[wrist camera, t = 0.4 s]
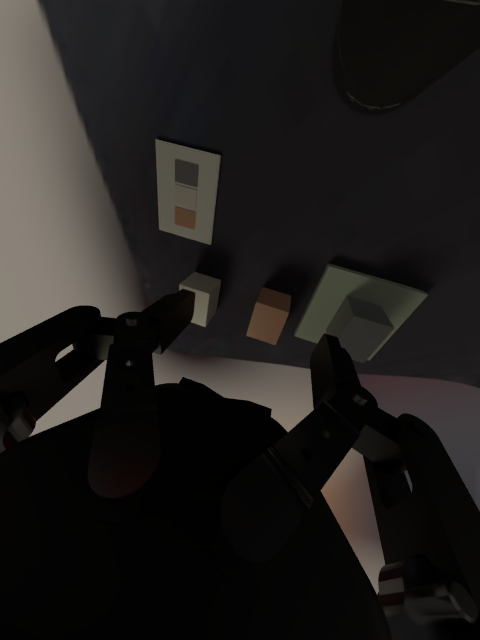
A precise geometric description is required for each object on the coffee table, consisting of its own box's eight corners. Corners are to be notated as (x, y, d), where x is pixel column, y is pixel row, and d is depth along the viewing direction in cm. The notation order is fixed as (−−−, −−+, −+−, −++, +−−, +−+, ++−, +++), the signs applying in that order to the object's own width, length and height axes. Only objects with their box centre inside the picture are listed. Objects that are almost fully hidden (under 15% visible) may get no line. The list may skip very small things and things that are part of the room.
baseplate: (328, 263, 26) (333, 282, 21) (423, 290, 25) (452, 317, 20) (294, 331, 33) (292, 357, 28) (367, 355, 32) (378, 386, 27)
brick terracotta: (262, 286, 30) (256, 302, 26) (291, 295, 30) (289, 312, 26) (253, 317, 34) (246, 335, 30) (278, 325, 34) (275, 345, 30)
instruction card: (156, 139, 23) (154, 138, 23) (221, 155, 23) (220, 155, 22) (160, 229, 29) (158, 229, 29) (211, 244, 29) (210, 245, 28)
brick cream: (195, 271, 32) (179, 284, 28) (221, 279, 32) (209, 293, 28) (192, 302, 36) (178, 317, 32) (216, 310, 35) (205, 326, 31)
